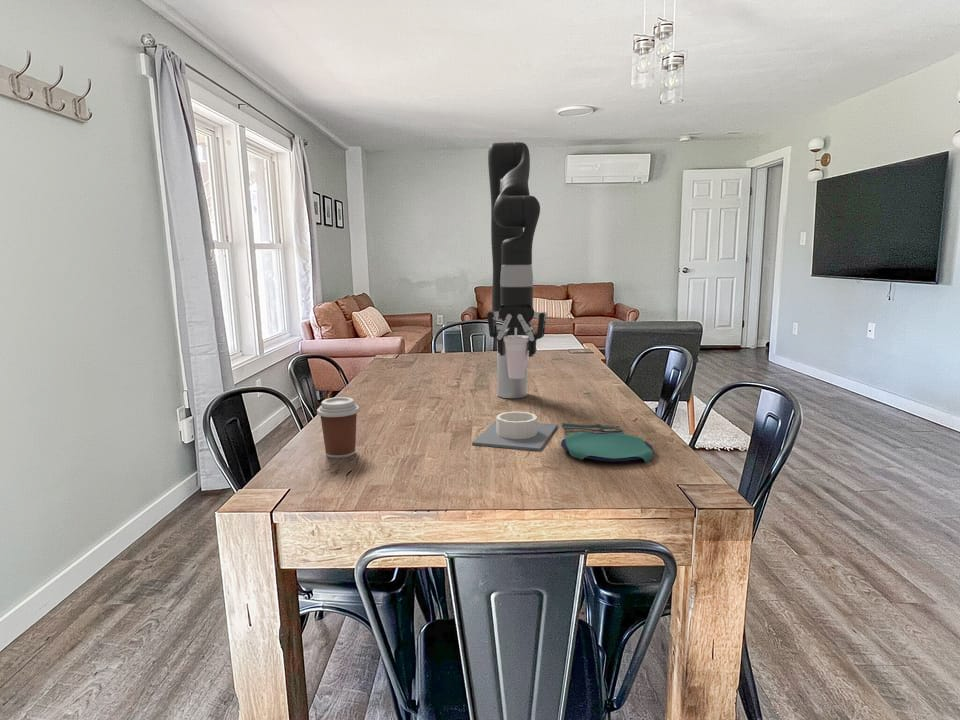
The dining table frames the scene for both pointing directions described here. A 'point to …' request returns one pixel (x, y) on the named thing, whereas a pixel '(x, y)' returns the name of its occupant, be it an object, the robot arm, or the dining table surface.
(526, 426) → the sleeve stand
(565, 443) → the cutlery set
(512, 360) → the smoothie
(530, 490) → the dining table surface
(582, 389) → the dining table surface
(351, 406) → the coffee cup
